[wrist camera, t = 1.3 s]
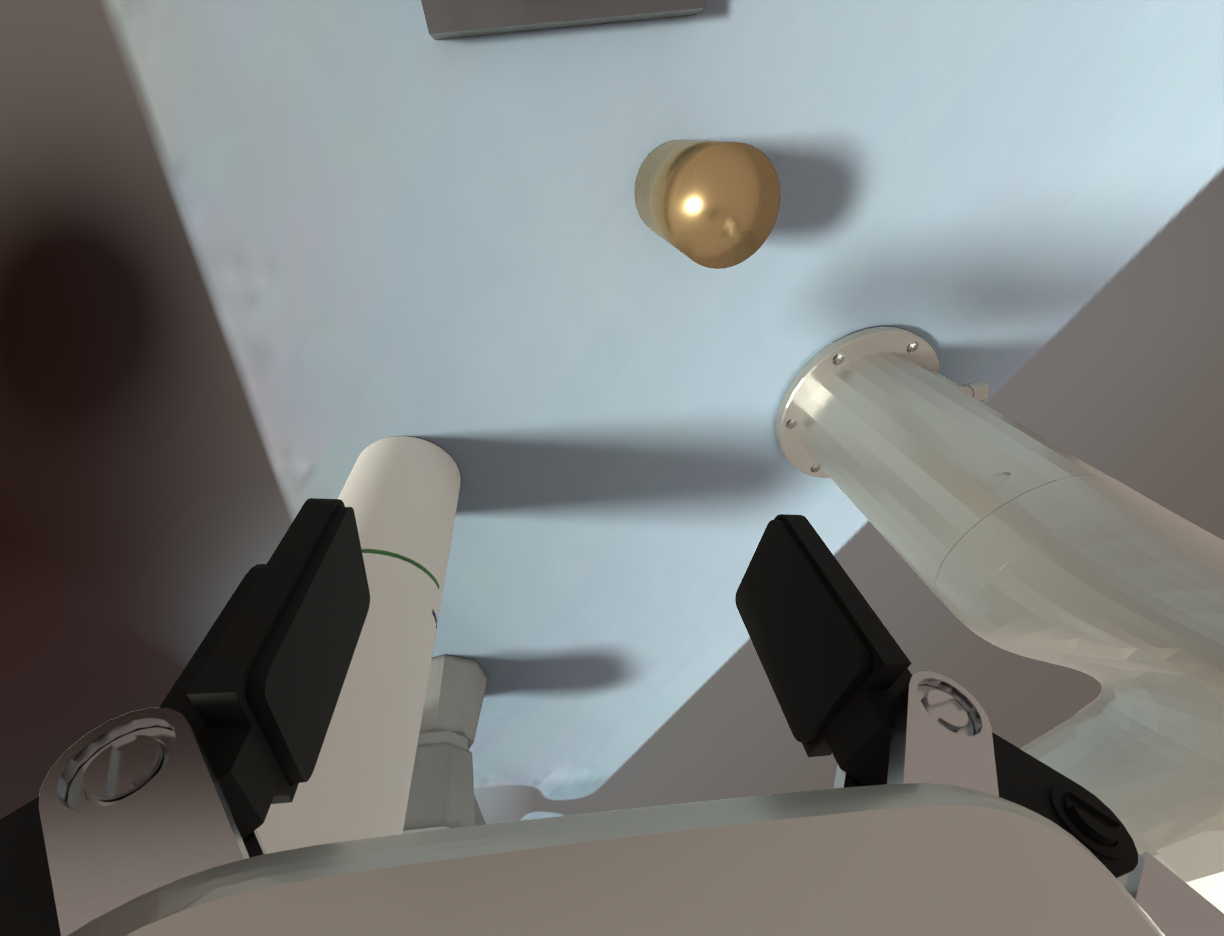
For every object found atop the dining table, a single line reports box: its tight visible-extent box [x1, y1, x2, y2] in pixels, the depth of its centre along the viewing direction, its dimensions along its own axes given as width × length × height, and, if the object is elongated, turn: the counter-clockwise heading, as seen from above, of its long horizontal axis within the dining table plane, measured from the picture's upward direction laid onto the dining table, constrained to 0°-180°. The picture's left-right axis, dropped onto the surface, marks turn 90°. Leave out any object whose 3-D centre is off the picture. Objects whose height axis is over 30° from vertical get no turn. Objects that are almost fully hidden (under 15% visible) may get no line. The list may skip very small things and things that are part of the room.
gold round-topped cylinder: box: [635, 140, 780, 269], centre depth 23 cm, size 5×5×8 cm
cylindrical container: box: [256, 436, 461, 854], centre depth 24 cm, size 7×7×25 cm
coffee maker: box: [403, 655, 488, 834], centre depth 41 cm, size 15×9×18 cm, turn 56°
